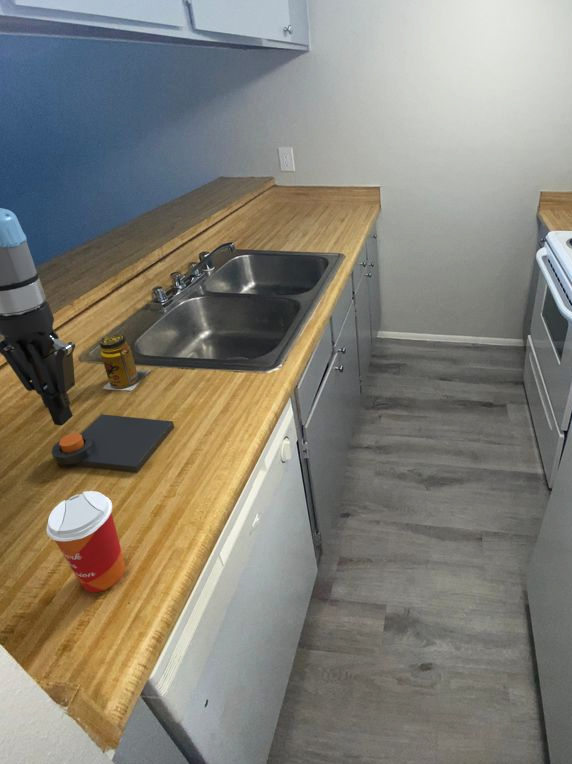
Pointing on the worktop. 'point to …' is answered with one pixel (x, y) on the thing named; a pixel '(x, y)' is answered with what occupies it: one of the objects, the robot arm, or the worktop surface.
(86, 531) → the paper cup
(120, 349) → the condiment
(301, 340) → the worktop surface
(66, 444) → the tare button
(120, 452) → the scale
